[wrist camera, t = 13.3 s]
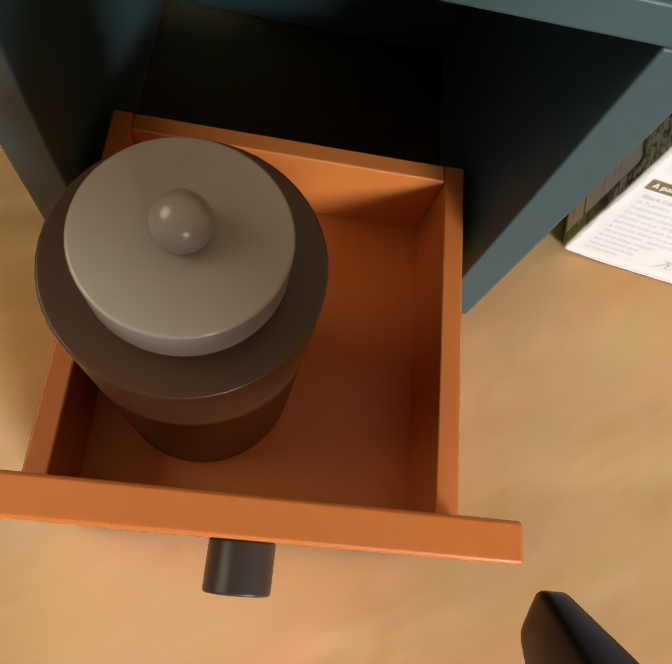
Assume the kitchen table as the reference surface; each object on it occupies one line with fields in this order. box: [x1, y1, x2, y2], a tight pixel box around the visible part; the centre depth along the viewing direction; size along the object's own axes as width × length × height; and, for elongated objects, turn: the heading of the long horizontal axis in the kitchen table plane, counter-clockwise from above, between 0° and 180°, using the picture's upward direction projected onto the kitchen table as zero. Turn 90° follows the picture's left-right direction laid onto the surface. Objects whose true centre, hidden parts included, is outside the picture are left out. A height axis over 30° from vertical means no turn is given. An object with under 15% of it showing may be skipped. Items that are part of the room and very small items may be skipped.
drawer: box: [0, 110, 523, 598], centre depth 16 cm, size 13×11×8 cm
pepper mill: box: [34, 137, 329, 462], centre depth 14 cm, size 5×5×10 cm
